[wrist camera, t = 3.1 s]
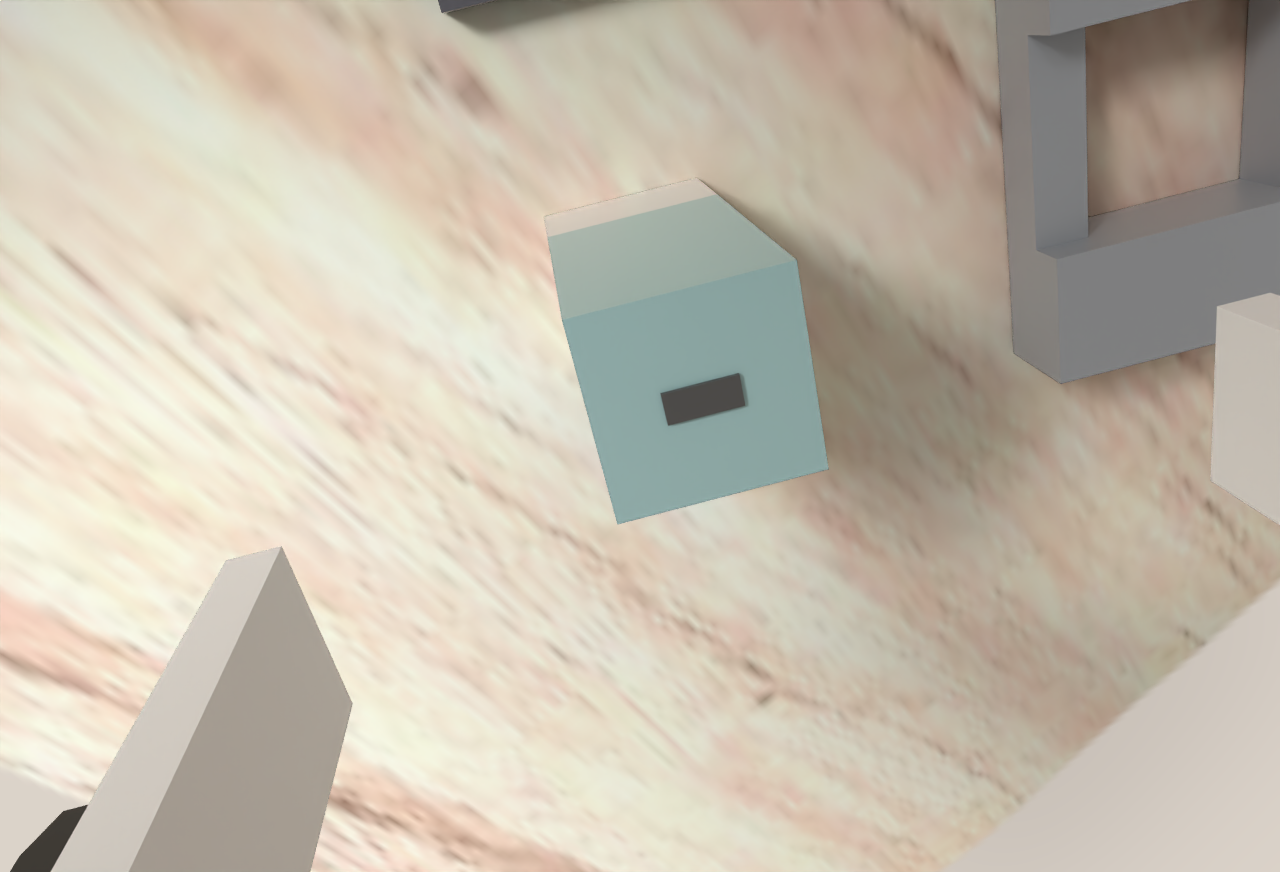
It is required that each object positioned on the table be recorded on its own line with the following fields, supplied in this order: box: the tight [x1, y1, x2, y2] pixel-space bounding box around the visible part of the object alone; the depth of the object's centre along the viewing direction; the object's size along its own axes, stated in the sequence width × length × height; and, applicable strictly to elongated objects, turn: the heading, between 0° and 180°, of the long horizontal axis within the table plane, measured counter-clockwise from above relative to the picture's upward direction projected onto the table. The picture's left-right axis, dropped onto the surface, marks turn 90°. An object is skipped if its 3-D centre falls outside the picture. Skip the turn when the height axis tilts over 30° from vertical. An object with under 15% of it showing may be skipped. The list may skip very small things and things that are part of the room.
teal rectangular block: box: [544, 178, 829, 524], centre depth 20 cm, size 4×4×9 cm
